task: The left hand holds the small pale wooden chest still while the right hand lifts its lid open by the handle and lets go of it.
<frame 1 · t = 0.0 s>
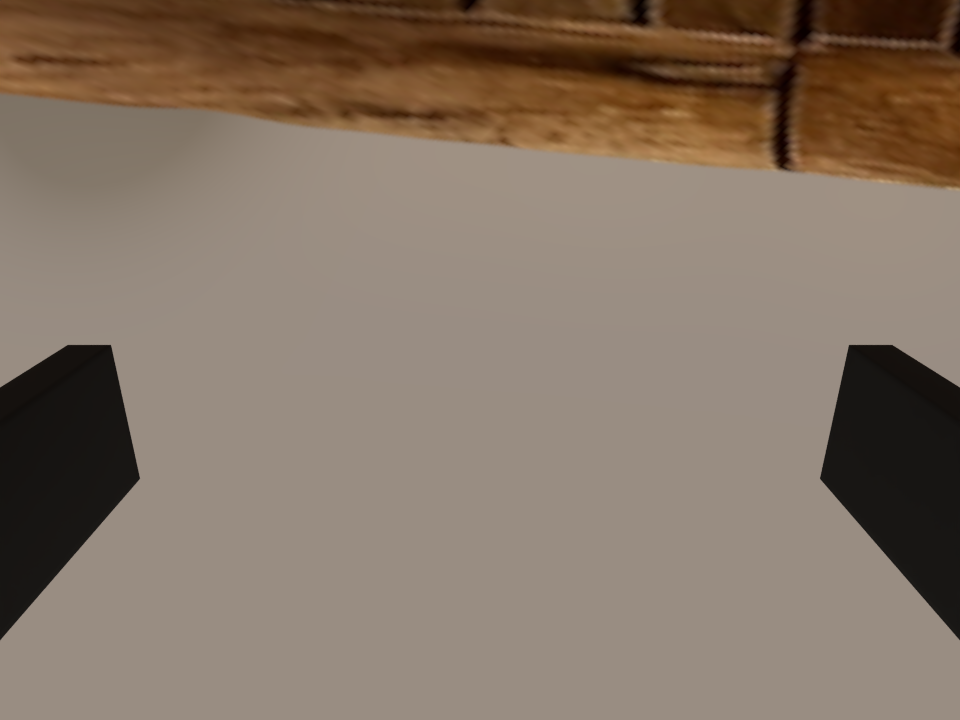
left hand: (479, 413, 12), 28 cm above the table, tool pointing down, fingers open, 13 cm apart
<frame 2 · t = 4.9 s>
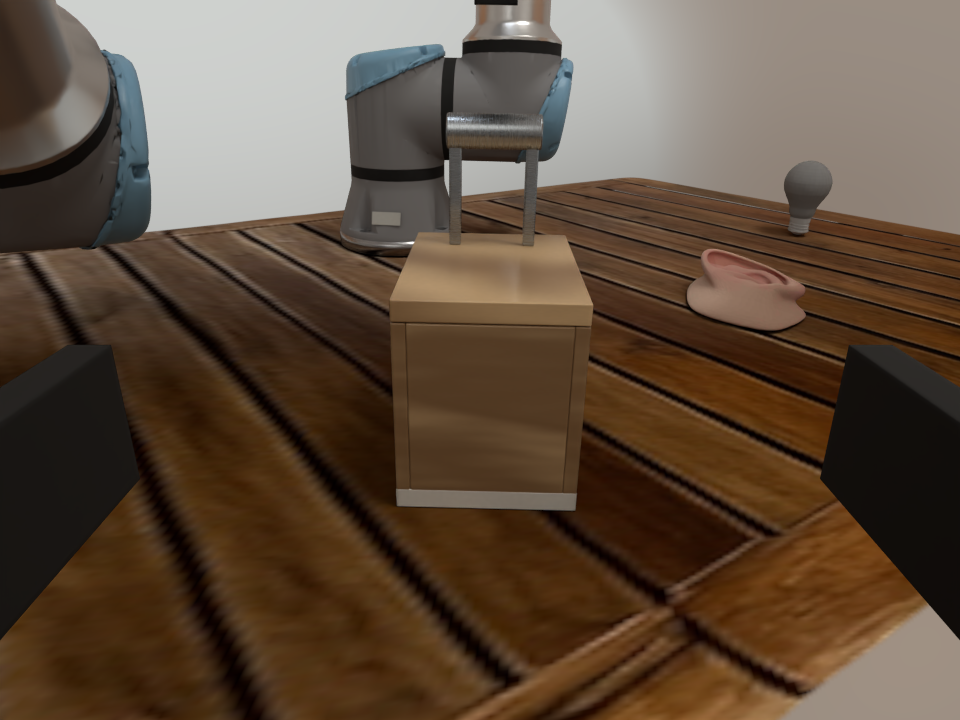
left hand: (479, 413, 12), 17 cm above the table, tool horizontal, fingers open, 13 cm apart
chest: (486, 446, 43), on the table
anatomical model: (742, 307, 68), on the table
light bulb: (796, 235, 96), on the table
lid: (492, 204, 37), point 15 cm above the table, hinge at 0.0°
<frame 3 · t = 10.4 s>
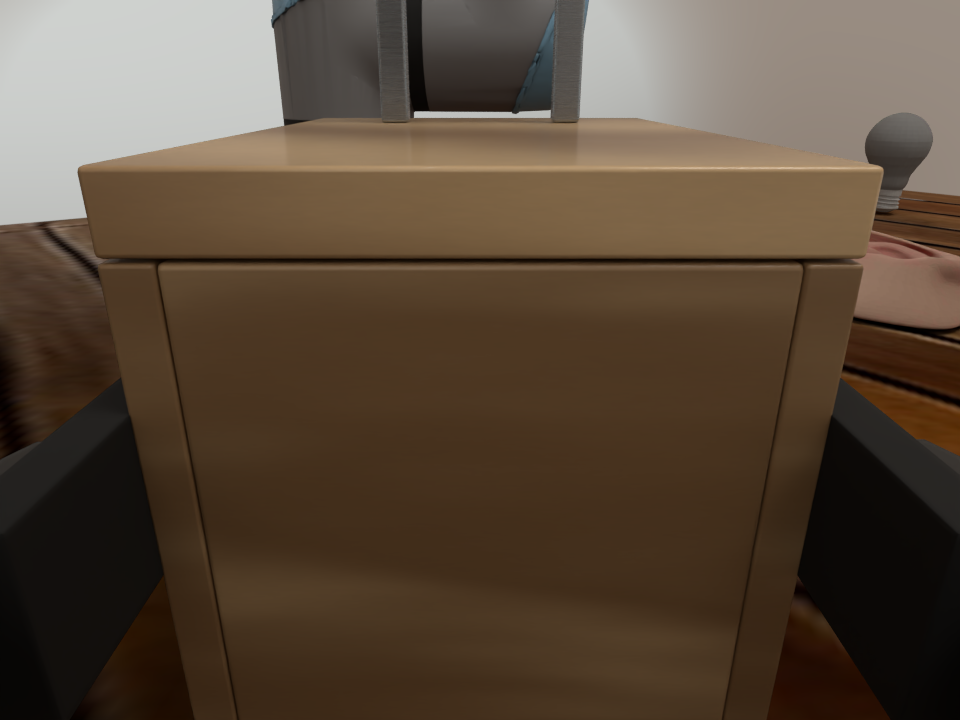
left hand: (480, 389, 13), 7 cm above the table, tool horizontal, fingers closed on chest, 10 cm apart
chest: (480, 592, 18), on the table, touching left hand
anatomical model: (869, 297, 44), on the table
light bulb: (882, 213, 73), on the table
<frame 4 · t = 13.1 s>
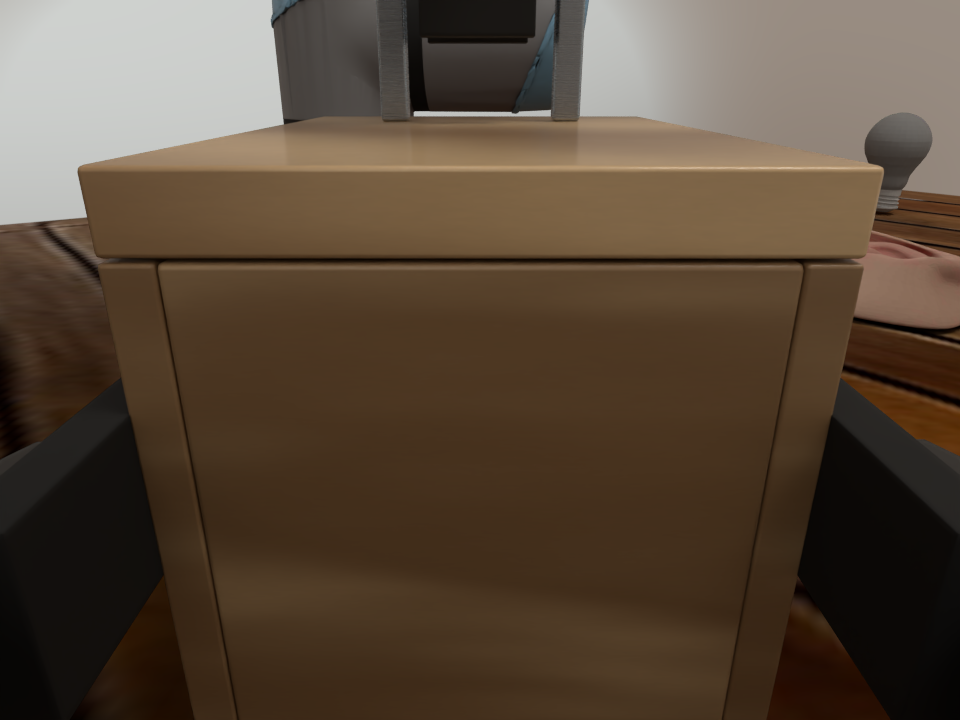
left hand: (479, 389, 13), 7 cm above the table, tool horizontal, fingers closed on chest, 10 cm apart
chest: (480, 592, 18), on the table, touching left hand
anatomical model: (868, 297, 44), on the table
light bulb: (882, 213, 73), on the table
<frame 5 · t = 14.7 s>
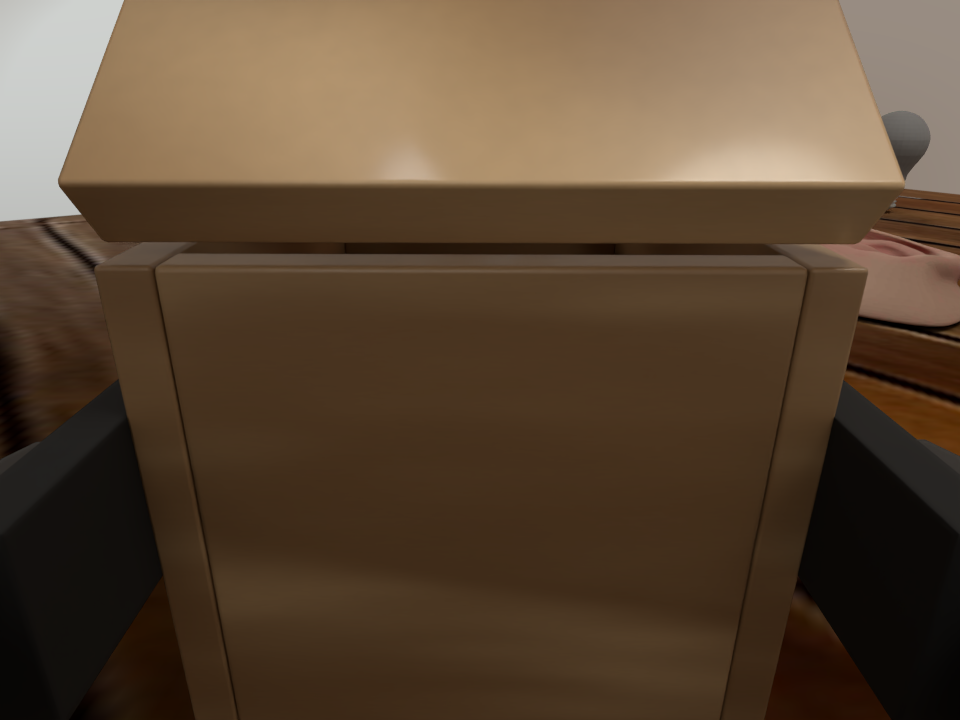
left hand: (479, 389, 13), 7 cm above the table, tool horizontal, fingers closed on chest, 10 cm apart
chest: (479, 586, 18), on the table, touching left hand
anatomical model: (865, 294, 44), on the table
light bulb: (880, 211, 74), on the table
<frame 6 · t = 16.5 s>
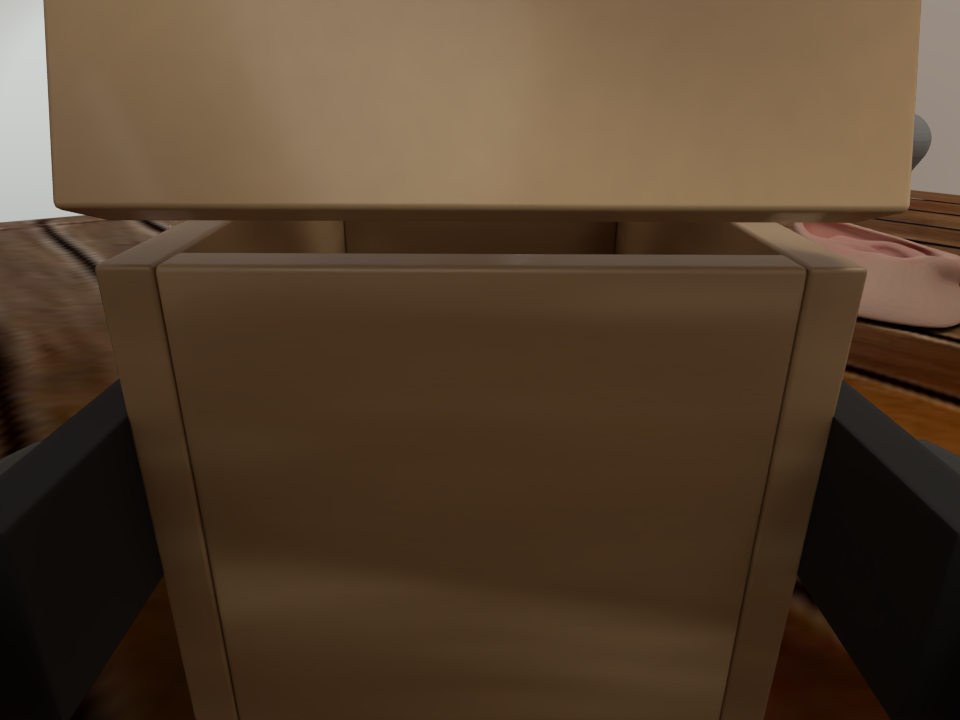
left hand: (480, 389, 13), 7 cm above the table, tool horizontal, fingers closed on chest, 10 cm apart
chest: (479, 586, 18), on the table, touching left hand
anatomical model: (867, 296, 44), on the table
light bulb: (881, 212, 73), on the table
when the left hand's fingers open (7 cm above the table, at t = 20.5 s): chest stays where it is, on the table.
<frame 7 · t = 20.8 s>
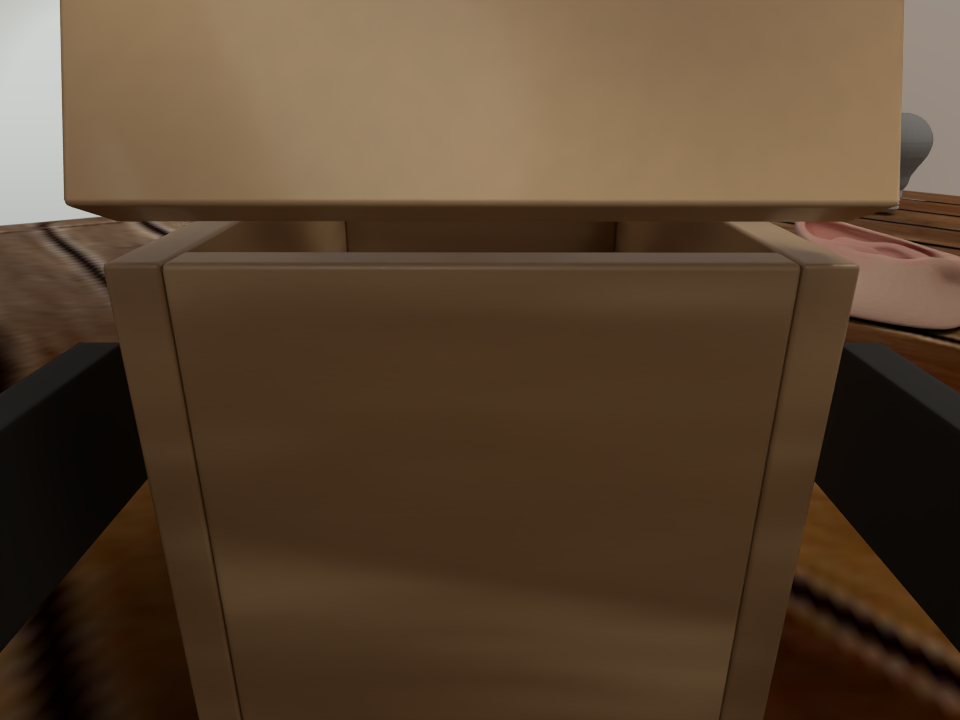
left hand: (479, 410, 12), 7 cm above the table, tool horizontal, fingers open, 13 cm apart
chest: (480, 589, 19), on the table
anatomical model: (869, 297, 44), on the table
light bulb: (883, 213, 73), on the table
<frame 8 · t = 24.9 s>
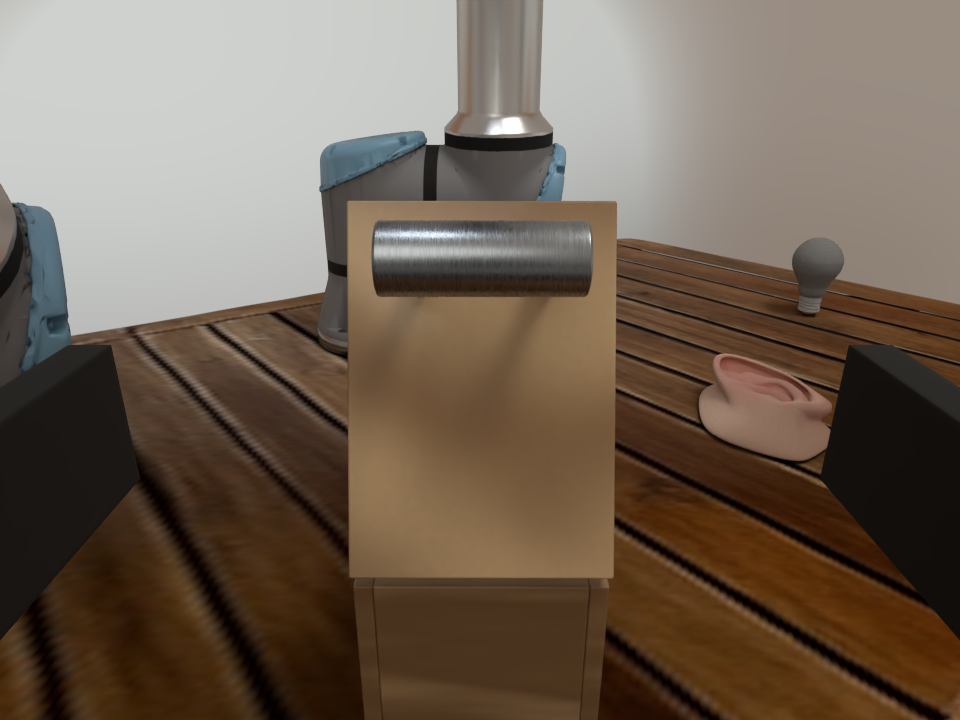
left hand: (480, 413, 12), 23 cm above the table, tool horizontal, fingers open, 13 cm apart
chest: (480, 666, 35), on the table
anatomical model: (761, 423, 61), on the table
light bulb: (807, 314, 90), on the table
lid: (481, 400, 21), point 19 cm above the table, hinge at 70.1°
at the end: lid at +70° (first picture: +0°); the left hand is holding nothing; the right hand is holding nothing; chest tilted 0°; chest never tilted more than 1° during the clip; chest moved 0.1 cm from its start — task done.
